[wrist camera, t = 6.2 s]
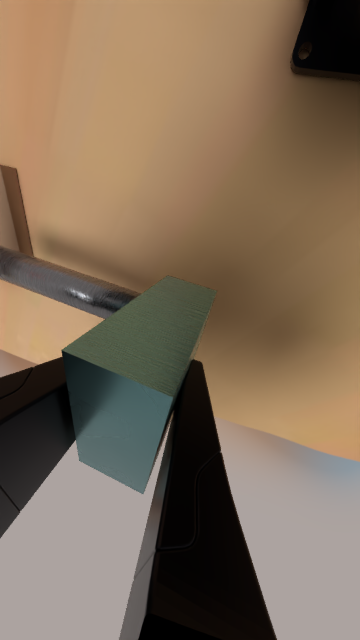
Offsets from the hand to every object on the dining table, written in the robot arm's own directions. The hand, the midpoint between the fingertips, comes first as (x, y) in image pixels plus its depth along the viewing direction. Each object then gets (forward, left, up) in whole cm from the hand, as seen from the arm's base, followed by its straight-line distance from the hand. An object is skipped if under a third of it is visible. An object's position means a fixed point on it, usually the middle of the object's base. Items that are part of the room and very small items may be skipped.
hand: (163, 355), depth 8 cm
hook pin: (+8, 0, -4) cm, 9 cm away
